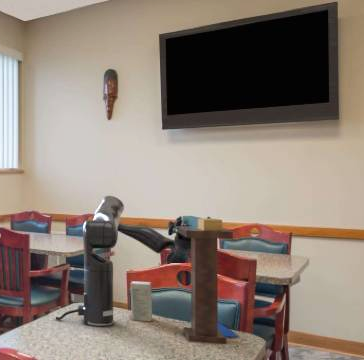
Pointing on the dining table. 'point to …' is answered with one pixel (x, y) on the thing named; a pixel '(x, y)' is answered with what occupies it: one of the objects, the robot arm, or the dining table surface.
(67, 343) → the dining table surface
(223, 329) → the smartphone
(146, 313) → the cosmetic box
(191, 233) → the shelf stand
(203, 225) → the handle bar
